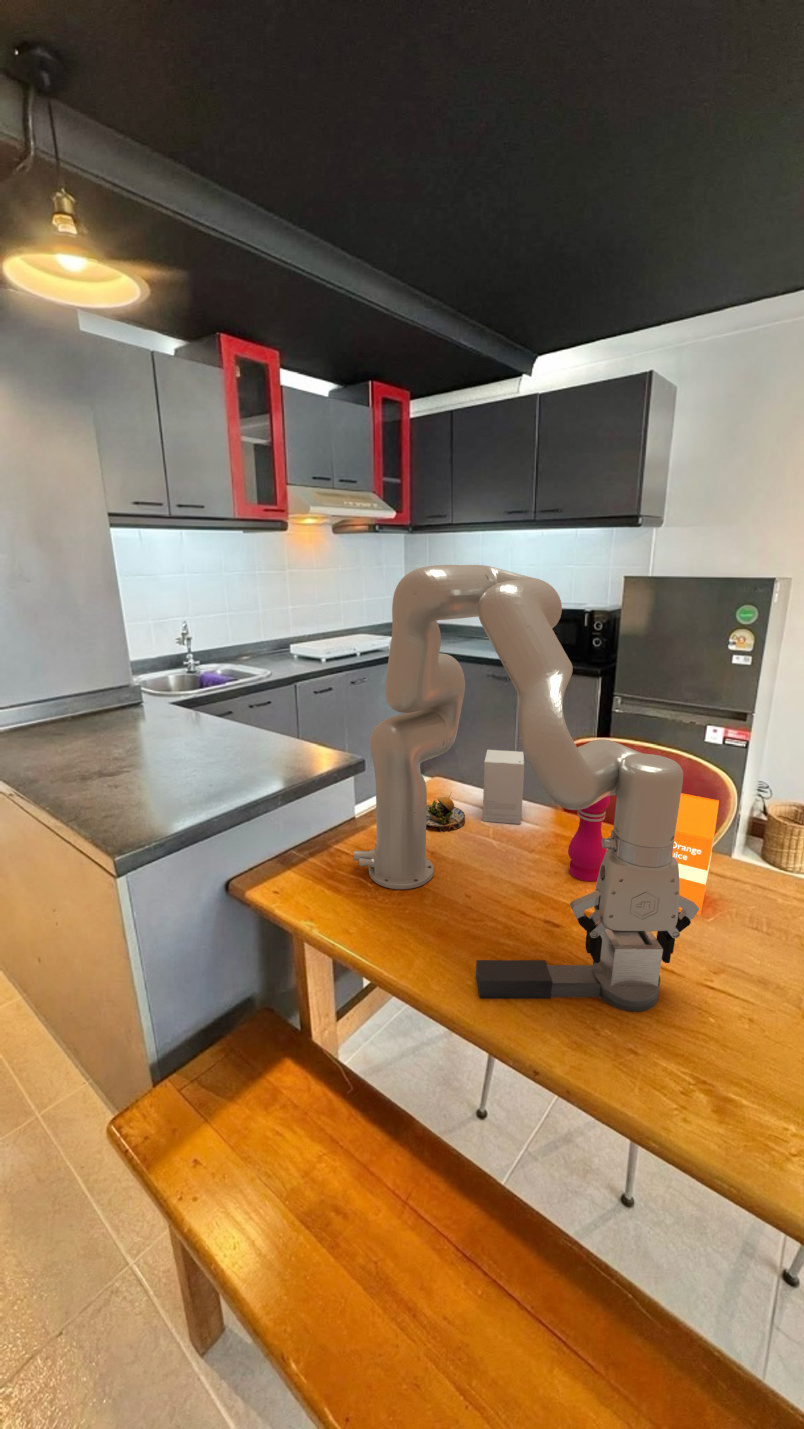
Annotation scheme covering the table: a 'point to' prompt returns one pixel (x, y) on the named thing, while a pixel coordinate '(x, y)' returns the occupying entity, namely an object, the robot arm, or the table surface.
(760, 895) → the table surface
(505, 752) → the supplement box
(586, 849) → the pepper mill
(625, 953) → the socket
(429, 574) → the robot arm
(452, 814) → the burger
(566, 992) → the ratchet
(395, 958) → the table surface
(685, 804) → the orange juice
